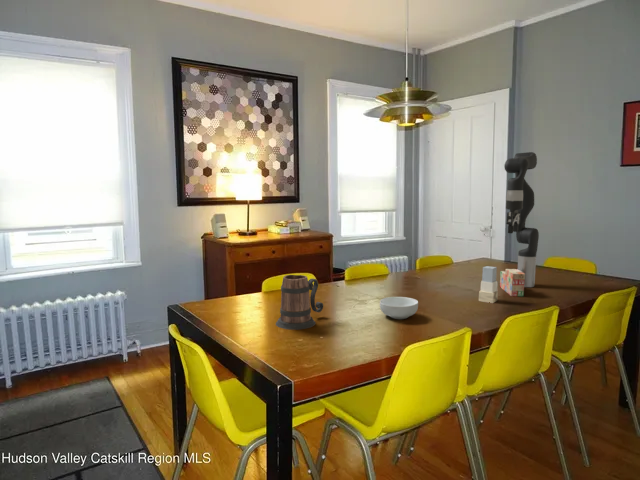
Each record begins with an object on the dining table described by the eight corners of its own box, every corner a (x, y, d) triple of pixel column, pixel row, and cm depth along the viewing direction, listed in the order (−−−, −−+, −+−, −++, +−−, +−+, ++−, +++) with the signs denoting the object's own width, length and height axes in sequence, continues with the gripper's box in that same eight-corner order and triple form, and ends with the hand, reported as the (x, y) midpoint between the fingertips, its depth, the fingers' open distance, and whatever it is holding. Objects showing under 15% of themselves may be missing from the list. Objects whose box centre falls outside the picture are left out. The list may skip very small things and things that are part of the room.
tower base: (483, 298, 232) (483, 288, 231) (497, 300, 228) (497, 290, 227) (478, 301, 226) (479, 291, 226) (492, 303, 222) (493, 293, 221)
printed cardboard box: (499, 287, 257) (500, 265, 255) (510, 287, 256) (511, 265, 254) (511, 296, 235) (512, 273, 234) (523, 296, 235) (525, 273, 233)
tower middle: (485, 288, 231) (485, 279, 230) (497, 290, 227) (497, 281, 226) (480, 291, 226) (480, 281, 226) (492, 292, 222) (492, 283, 222)
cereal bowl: (391, 309, 212) (392, 294, 211) (424, 315, 202) (424, 300, 201) (372, 317, 199) (372, 301, 198) (405, 325, 189) (406, 308, 188)
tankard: (292, 332, 179) (292, 283, 177) (267, 322, 192) (266, 276, 189) (335, 320, 195) (335, 274, 193) (309, 312, 208) (309, 269, 205)
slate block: (486, 279, 229) (486, 266, 228) (496, 281, 226) (496, 267, 225) (482, 281, 226) (482, 267, 225) (492, 282, 222) (492, 268, 221)
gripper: (510, 199, 230) (509, 230, 232) (502, 200, 219) (500, 233, 221) (526, 199, 225) (524, 231, 227) (518, 200, 214) (516, 234, 216)
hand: (512, 232), depth 224 cm, fingers open, 8 cm apart
